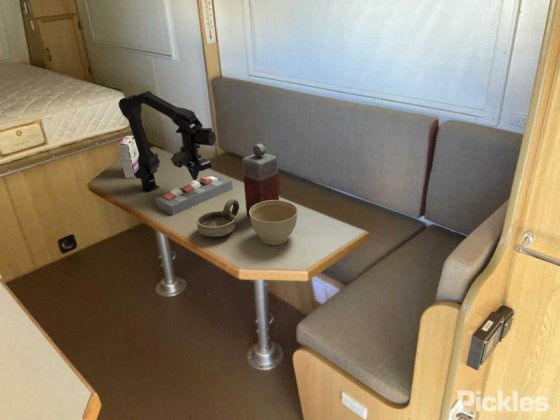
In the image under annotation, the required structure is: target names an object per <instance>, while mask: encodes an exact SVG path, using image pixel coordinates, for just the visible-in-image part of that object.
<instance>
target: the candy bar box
mask: <svg viewBox="0 0 560 420" xmlns="http://www.w3.org/2000/svg"><path fill="white" fill-rule="evenodd" d="M117 148H118V151H119V156H120V160H121V166H122V169H123V174H124V178H125V179H135V178H136V176H135V173H136V171H137V170H138V169H139V166H138V157H139V152H138V149H137V146H136V143H135V140H134V137H133V135H126V136H123V138H122V139H121V141H119V142H118V144H117ZM136 179H137V178H136Z"/></svg>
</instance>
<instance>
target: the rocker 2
mask: <svg viewBox="0 0 560 420" xmlns="http://www.w3.org/2000/svg"><path fill="white" fill-rule="evenodd" d="M197 181H198V180H193V179H192V181H190V182H189V183H188V184H187V185H184V186H185V187H184V186H183V187H184V188H183V189H182V190H183V192H184V193H189V192H191V191H193V190H196V189H198V188H199V187H200V186H201V185H200V182H197Z"/></svg>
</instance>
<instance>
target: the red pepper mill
mask: <svg viewBox="0 0 560 420" xmlns="http://www.w3.org/2000/svg"><path fill="white" fill-rule="evenodd" d="M277 157H278V156H275V155H272V154H268V153H266V147H265V146H264V145H263V144H262V143H258V144H255V145H253V147H252V154H251V155H247V156H245V157H243V158H242V161H241V163H242V174H243V186H244V197H245V198H244V199H245V208H246V209H245V210H246V217H247V216H248V218H250V215H249V211H250V209H251V207H253V206H254V205H255V204H257V203H260V202H264V201H269V200H280V195H281V191H282V190H281V176H280V172H279V168H278V158H277Z"/></svg>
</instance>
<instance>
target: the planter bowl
mask: <svg viewBox="0 0 560 420" xmlns="http://www.w3.org/2000/svg"><path fill="white" fill-rule="evenodd" d="M298 211H299V209H298V207H297V205H295V204H294V203H292V202H290V201H286V200H281V199H279V200H269V201H264V202H260V203H257V204H255V205H254V206H253V207H251V209H250V211H249V215H250V217H249V218H250V223H251V226H252V228H253V230H254V232H255V233H256V234H257V235H258V237H259V238H260V241H261V242H262V243H263V244H265V245H269V246H279V245H283V244H285V243H286V242H287V241H288V240H289V238H290V236H291V235H292V233H293V232H294V230H295V228H296V226H297V225H296V224H297V221H298V215H299V214H298Z"/></svg>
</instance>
